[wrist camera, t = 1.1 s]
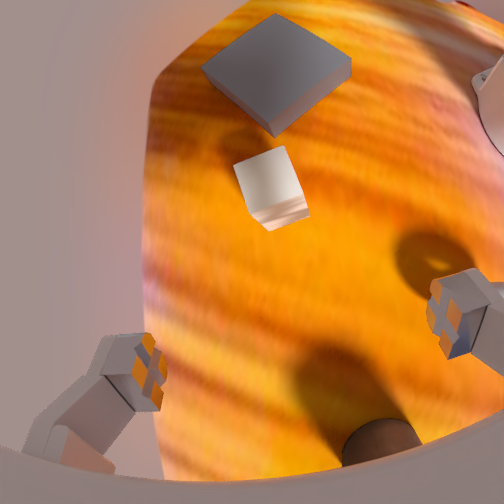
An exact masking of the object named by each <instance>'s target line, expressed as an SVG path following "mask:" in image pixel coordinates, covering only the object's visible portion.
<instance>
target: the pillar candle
mask: <svg viewBox="0 0 504 504" xmlns="http://www.w3.org/2000/svg"><path fill="white" fill-rule="evenodd" d="M420 445H423V444H422V443H421V441H420V439H419V437H418V436H417V434H416V432H415V431H414V429H413V428H412V427H411V426H410V425H409V424H407V423H405V422H403V421H401V420H397V419H380V420H375V421H372V422H369V423H367V424H365V425H363V426H362V427H360V428H359V429H357V431H355V432H354V433H353V434H352V435H351V436H350V437H349V438H348V440H347V442H346V443H345V445H344V448H343V450H342V453H343V460H342V461H343V463H342V467H346V466H351V465H355V464H359V463H363V462H367V461H371V460H375V459H379V458H382V457H386V456H389V455H393V454H396V453H399V452H402V451H406V450H409V449H412V448H415V447H418V446H420Z"/></svg>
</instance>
